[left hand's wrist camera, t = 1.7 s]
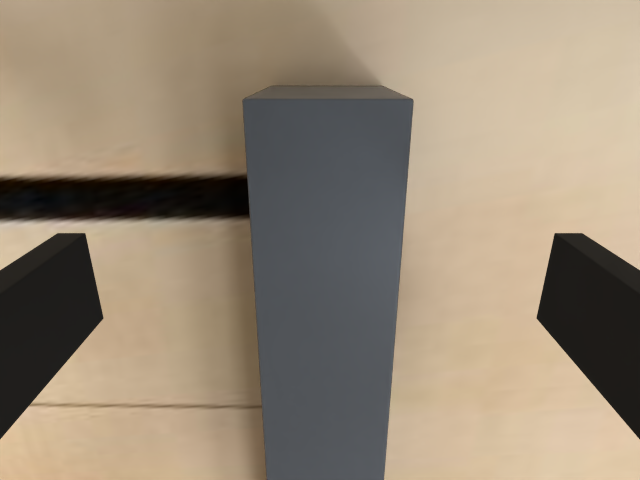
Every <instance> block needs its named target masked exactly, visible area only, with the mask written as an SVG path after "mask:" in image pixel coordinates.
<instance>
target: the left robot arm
mask: <svg viewBox="0 0 640 480" xmlns="http://www.w3.org/2000/svg"><path fill="white" fill-rule="evenodd" d="M102 319H103V314H102V309H101V305H100V300H99V295H98V291H97V286H96V281H95V277H94V272H93V267H92V263H91V258H90V253H89V249H88V244H87V239H86V235H85V233H58V234H56V235H54V236H53V237H51V238H50V239H48V240H47V241H45V242H44V243H42V244H40V245H39V246H37V247H36V248H34V249H33V250H31V251H30V252H28V253H27V254H25V255H23V256H22V257H20V258H19V259H17V260H16V261H14V262H13V263H11V264H9V265H8V266H6V267H5V268H3V269H2V270H0V439H1V438H2V437H3V435H4V434H5V433H6V432H7V431H8V430H9V428H10V427H11V426H12V425H13V424H14V422H15V421H16V420H17V419H18V418H19V417H20V415H21V414H22V413H23V412H24V411H25V410H26V408H27V407H28V406H29V405H30V404H31V403H32V401H33V400H34V399H35V398H36V397H37V396H38V394H39V393H40V392H41V391H42V390H43V389H44V387H45V386H46V385H47V384H48V383H49V381H50V380H51V379H52V378H53V377H54V376H55V374H56V373H57V372H58V371H59V370H60V369H61V367H62V366H63V365H64V364H65V363H66V362H67V360H68V359H69V358H70V357H71V356H72V355H73V353H74V352H75V351H76V350H77V349H78V347H79V346H80V345H81V344H82V343H83V342H84V340H85V339H86V338H87V337H88V336H89V335H90V333H91V332H92V331H93V330H94V329H95V328H96V326H97V325H98V324H99V323H100V322H101V321H102ZM537 319H538V321H539V322H540V323H541V324H542V325H543V326H544V328H545V329H546V330H547V331H548V332H549V333H550V335H551V336H552V337H553V338H554V339H555V340H556V342H557V343H558V344H559V345H560V346H561V347H562V349H563V350H564V351H565V352H566V353H567V355H568V356H569V357H570V358H571V359H572V360H573V362H574V363H575V364H576V365H577V366H578V367H579V369H580V370H581V371H582V372H583V373H584V374H585V376H586V377H587V378H588V379H589V380H590V381H591V383H592V384H593V385H594V386H595V387H596V389H597V390H598V391H599V392H600V393H601V394H602V396H603V397H604V398H605V399H606V400H607V401H608V403H609V404H610V405H611V406H612V407H613V408H614V410H615V411H616V412H617V413H618V414H619V415H620V417H621V418H622V419H623V420H624V421H625V422H626V424H627V425H628V426H629V427H630V428H631V430H632V431H633V432H634V433H635V434H636V435H637V437H638V438H639V439H640V270H638V269H637V268H635V267H634V266H632V265H631V264H629V263H627V262H626V261H624V260H623V259H621V258H620V257H618V256H617V255H615V254H613V253H612V252H610V251H609V250H607V249H606V248H604V247H603V246H601V245H600V244H598V243H596V242H595V241H593V240H592V239H590V238H589V237H587V236H586V235H584V234H582V233H555V235H554V239H553V244H552V249H551V253H550V258H549V263H548V267H547V272H546V277H545V281H544V286H543V291H542V295H541V300H540V305H539V309H538V314H537Z"/></svg>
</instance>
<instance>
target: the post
mask: <svg viewBox="0 0 640 480" xmlns="http://www.w3.org/2000/svg"><path fill="white" fill-rule="evenodd" d="M412 114H413V99H411V98H409V97H406V96H404V95H402V94H400V93H397V92H395V91H393V90H391V89H388V88H386V87H384V86H270V87H268V88H266V89H264V90H262V91H259V92H257V93H255V94H253V95H251V96H249V97H247V98H245V99H243V116H244V132H245V148H246V163H247V179H248V195H249V210H250V226H251V242H252V257H253V273H254V289H255V304H256V320H257V336H258V351H259V367H260V383H261V398H262V414H263V430H264V445H265V461H266V477H267V480H384V472H385V460H386V447H387V434H388V421H389V408H390V396H391V383H392V370H393V357H394V344H395V331H396V319H397V306H398V293H399V280H400V267H401V255H402V242H403V229H404V216H405V203H406V191H407V178H408V165H409V152H410V139H411V127H412Z"/></svg>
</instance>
